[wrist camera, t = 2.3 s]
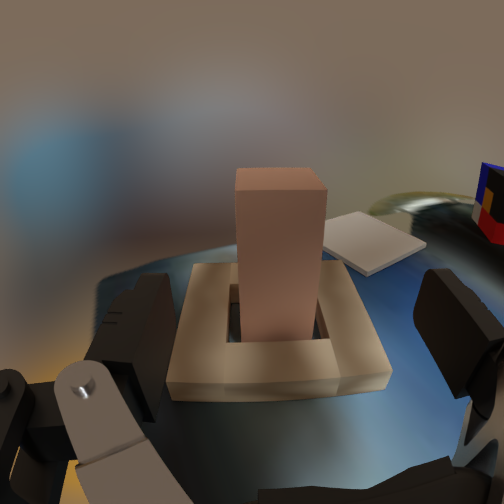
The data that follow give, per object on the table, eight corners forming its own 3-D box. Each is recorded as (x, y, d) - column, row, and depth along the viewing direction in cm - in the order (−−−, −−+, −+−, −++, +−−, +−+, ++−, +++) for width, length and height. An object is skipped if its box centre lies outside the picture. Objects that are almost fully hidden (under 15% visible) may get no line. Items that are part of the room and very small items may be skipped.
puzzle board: (339, 277, 31) (341, 259, 30) (384, 389, 19) (392, 370, 18) (196, 281, 31) (193, 263, 30) (171, 400, 19) (165, 381, 18)
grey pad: (358, 214, 46) (359, 211, 45) (425, 247, 36) (426, 242, 36) (294, 233, 40) (294, 228, 40) (366, 277, 31) (367, 271, 31)
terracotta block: (301, 308, 27) (310, 167, 22) (310, 349, 23) (327, 190, 17) (242, 310, 27) (237, 168, 21) (242, 352, 23) (234, 190, 17)
